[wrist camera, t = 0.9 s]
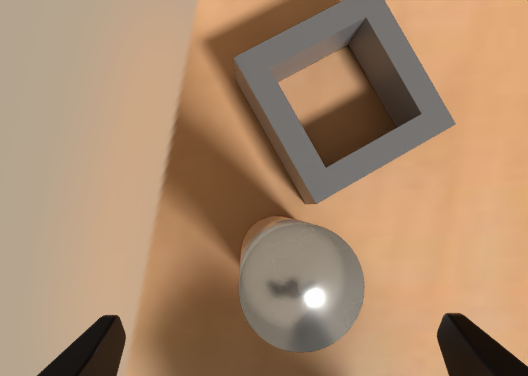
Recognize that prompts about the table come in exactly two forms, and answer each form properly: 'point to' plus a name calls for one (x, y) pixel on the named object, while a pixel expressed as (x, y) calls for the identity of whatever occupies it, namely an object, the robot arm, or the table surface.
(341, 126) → the table surface
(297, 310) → the steel shaft
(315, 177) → the grey square frame
